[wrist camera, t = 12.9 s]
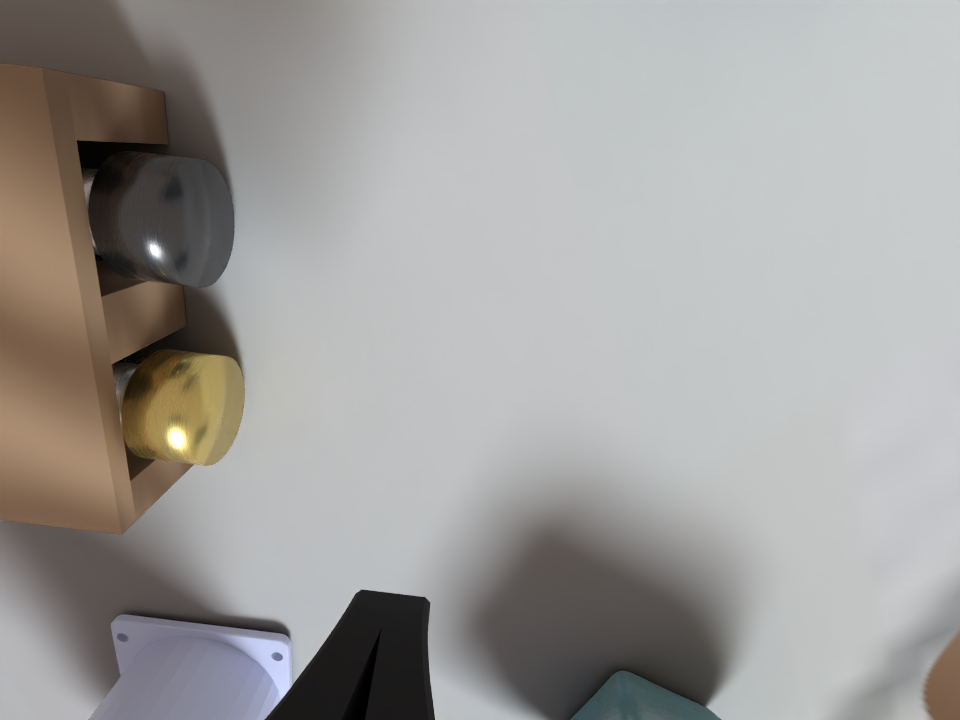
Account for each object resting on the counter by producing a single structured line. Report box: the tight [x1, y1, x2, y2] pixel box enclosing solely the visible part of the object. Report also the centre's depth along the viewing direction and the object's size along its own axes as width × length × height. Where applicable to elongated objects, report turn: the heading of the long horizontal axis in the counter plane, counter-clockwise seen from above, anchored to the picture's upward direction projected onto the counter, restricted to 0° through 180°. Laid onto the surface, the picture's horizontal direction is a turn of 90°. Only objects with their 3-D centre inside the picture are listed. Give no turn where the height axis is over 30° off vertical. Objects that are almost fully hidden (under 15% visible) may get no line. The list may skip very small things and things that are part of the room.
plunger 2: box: [112, 349, 245, 465], centre depth 17 cm, size 4×10×4 cm, turn 84°
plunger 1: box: [81, 151, 234, 287], centre depth 15 cm, size 4×10×4 cm, turn 84°
